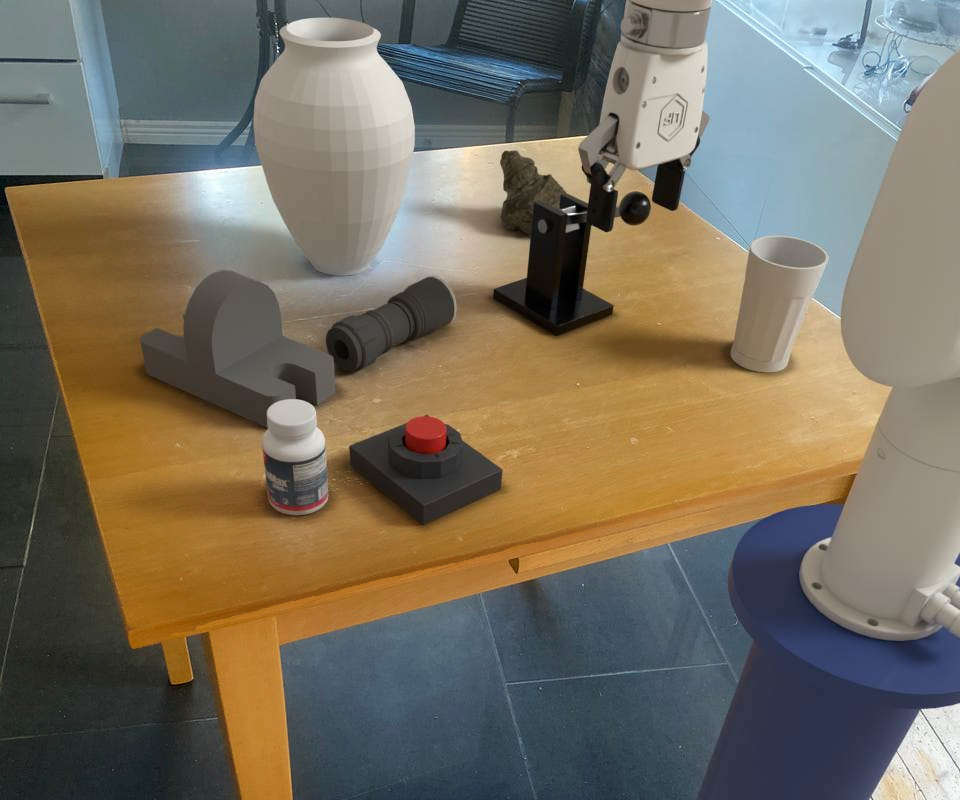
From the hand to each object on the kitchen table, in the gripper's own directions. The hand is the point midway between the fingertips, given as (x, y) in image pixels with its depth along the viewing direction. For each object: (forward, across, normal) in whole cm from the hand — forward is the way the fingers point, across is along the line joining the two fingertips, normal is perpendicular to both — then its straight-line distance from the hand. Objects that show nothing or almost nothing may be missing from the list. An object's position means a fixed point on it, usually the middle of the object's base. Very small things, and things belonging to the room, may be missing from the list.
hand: (632, 216), depth 100 cm
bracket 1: (+14, -38, +16) cm, 43 cm away
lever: (+3, 0, +4) cm, 5 cm away
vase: (+14, -14, +33) cm, 38 cm away
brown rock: (+14, +14, +27) cm, 33 cm away
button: (+10, -33, -8) cm, 36 cm away
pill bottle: (+14, -44, -4) cm, 46 cm away
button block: (+14, -33, -8) cm, 37 cm away
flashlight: (+14, -21, +13) cm, 28 cm away
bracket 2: (+14, 0, +10) cm, 17 cm away
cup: (+14, +11, -12) cm, 22 cm away
